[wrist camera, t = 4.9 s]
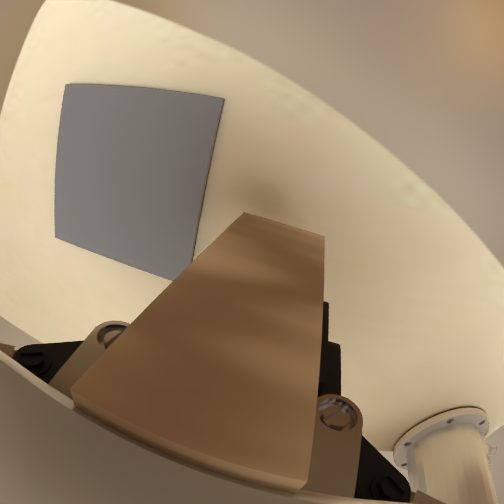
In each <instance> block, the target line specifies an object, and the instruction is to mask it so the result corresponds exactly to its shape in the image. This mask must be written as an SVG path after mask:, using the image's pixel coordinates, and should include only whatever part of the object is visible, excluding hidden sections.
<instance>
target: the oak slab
mask: <svg viewBox="0 0 504 504" xmlns="http://www.w3.org/2000/svg"><path fill="white" fill-rule="evenodd" d="M323 294H324V236H320V235H317V234H314V233H311V232H308V231H304V230H301V229H298V228H295V227H292V226H288V225H285V224H282V223H278V222H275V221H272V220H268V219H265V218H262V217H258V216H255V215H252V214H248V213H245V212H244V213H243V214H242V215H241V216H240V217H239V218H238V219H237V220H235V221H234V222H233V223H232V224H231V225H230V226H229V227H228V228H227V229H226V230H225V231H224V232H223V233H222V234H221V235H220V236H219V237H218V238H217V239H216V240H215V241H214V242H213V243H212V244H210V245H209V246H208V247H207V248H206V249H205V250H204V251H203V252H202V253H201V254H200V255H199V256H198V257H197V258H196V259H195V260H194V261H193V262H192V263H191V264H190V265H189V266H188V267H187V268H186V269H185V270H184V271H183V272H182V273H181V274H180V275H179V276H178V277H177V278H176V279H175V280H174V281H173V282H172V283H171V284H170V285H169V286H168V287H167V288H166V289H165V290H164V291H163V292H162V293H161V294H160V295H159V296H158V297H157V298H156V299H155V300H154V301H153V302H152V303H151V304H150V305H149V306H148V307H147V308H146V309H145V310H144V311H143V312H142V313H141V314H140V315H139V316H138V317H137V318H136V319H135V320H134V321H133V322H132V323H131V324H130V325H129V326H128V327H127V328H126V329H125V331H124V332H123V333H122V334H121V335H120V336H119V337H118V338H117V339H116V340H115V341H114V342H113V343H112V344H111V345H110V346H109V347H108V348H107V349H106V350H105V351H104V352H103V353H102V355H101V356H100V357H99V358H98V359H97V360H96V361H95V362H94V363H93V364H92V365H91V366H90V367H89V368H88V369H87V370H86V372H85V373H84V374H83V375H82V376H81V377H80V378H79V379H78V380H77V381H76V382H75V383H74V385H73V386H72V387H71V388H70V391H71V395H72V398H73V402H74V406H75V407H77V408H79V409H80V410H82V411H84V412H85V413H87V414H89V415H90V416H92V417H94V418H95V419H97V420H99V421H101V422H103V423H104V424H106V425H108V426H110V427H112V428H114V429H115V430H117V431H119V432H121V433H123V434H125V435H127V436H129V437H131V438H133V439H135V440H137V441H139V442H141V443H143V444H146V445H148V446H150V447H152V448H154V449H157V450H159V451H161V452H164V453H166V454H168V455H171V456H173V457H175V458H178V459H180V460H183V461H186V462H188V463H191V464H193V465H196V466H199V467H202V468H205V469H207V470H210V471H213V472H216V473H219V474H222V475H226V476H229V477H232V478H235V479H239V480H242V481H246V482H249V483H253V484H257V485H261V486H265V487H269V488H273V489H278V490H282V491H287V492H292V493H297V492H298V491H299V490H300V489H301V488H302V487H303V486H304V485H305V484H306V483H307V481H308V474H309V467H310V459H311V451H312V443H313V435H314V426H315V416H316V406H317V395H318V383H319V371H320V356H321V340H322V320H323Z"/></svg>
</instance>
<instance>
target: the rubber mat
mask: <svg viewBox="0 0 504 504" xmlns="http://www.w3.org/2000/svg"><path fill="white" fill-rule="evenodd" d="M223 103H224V99H223V98H218V97H212V96H206V95H199V94H193V93H186V92H179V91H171V90H162V89H153V88H143V87H131V86H116V85H94V84H66V85H65V90H64V96H63V102H62V109H61V116H60V124H59V133H58V143H57V155H56V171H55V237H56V238H58V239H61V240H63V241H66V242H68V243H71V244H73V245H76V246H78V247H81V248H83V249H86V250H89V251H91V252H94V253H97V254H99V255H102V256H105V257H107V258H110V259H113V260H115V261H118V262H121V263H123V264H126V265H129V266H132V267H135V268H137V269H140V270H143V271H146V272H149V273H151V274H154V275H157V276H160V277H163V278H166V279H169V280H172V281H174V280H175V279H176V278H177V277H178V276H179V275H180V274H181V273H182V272H183V271H184V270H185V269H186V268H187V267H188V266H189V265H190V264H191V263H192V259H193V253H194V247H195V241H196V235H197V230H198V224H199V218H200V213H201V208H202V202H203V197H204V192H205V187H206V181H207V176H208V172H209V167H210V162H211V157H212V152H213V148H214V143H215V138H216V134H217V129H218V125H219V120H220V116H221V112H222V107H223Z"/></svg>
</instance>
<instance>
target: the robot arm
mask: <svg viewBox="0 0 504 504" xmlns="http://www.w3.org/2000/svg"><path fill="white" fill-rule="evenodd" d="M328 323H329V303H328V302H325V301H323V320H322V340H321V356H320V371H319V383H318V395H317V406H316V416H315V426H314V435H313V443H312V451H311V459H310V467H309V474H308V481H307V483H306V484H305V485H304V486H303V487H302V488H301V489H300V490H299V491H298V492H297V493H292V492H287V491H282V490H278V489H273V488H269V487H265V486H261V485H257V484H253V483H249V482H246V481H242V480H239V479H235V478H232V477H229V476H226V475H222V474H219V473H216V472H213V471H210V470H207V469H205V468H202V467H199V466H196V465H193V464H191V463H188V462H186V461H183V460H180V459H178V458H175V457H173V456H171V455H168V454H166V453H164V452H161V451H159V450H157V449H154V448H152V447H150V446H148V445H146V444H143V443H141V442H139V441H137V440H135V439H133V438H131V437H129V436H127V435H125V434H123V433H121V432H119V431H117V430H115V429H114V428H112V427H110V426H108V425H106V424H104V423H103V422H101V421H99V420H97V419H95V418H94V417H92V416H90V415H89V414H87V413H85V412H84V411H82V410H80V409H79V408H77V407H75V406H74V402H73V398H72V395H71V391H70V388H71V387H72V386H73V385H74V383H75V382H76V381H77V380H78V379H79V378H80V377H81V376H82V375H83V374H84V373H85V372H86V370H87V369H88V368H89V367H90V366H91V365H92V364H93V363H94V362H95V361H96V360H97V359H98V358H99V357H100V356H101V355H102V353H103V352H104V351H105V350H106V349H107V348H108V347H109V346H110V345H111V344H112V343H113V342H114V341H115V340H116V339H117V338H118V337H119V336H120V335H121V334H122V333H123V332H124V331H125V329H126V328H127V327H128V326H129V325H130V324H129V323H126V322H122V321H108V322H104V323H102V324H100V325H98V326H97V327H96V328H95V329H94V330H93V331H92V332H91V333H90V334H89V336H88V337H87V338H86V339H85V340H84V341H74V342H62V343H48V344H32V345H27V346H24V347H22V348H20V349H19V350H16V347H15V346H11V345H6V344H2V343H0V504H498V499H497V495H496V490H495V486H494V482H493V478H492V474H491V470H490V467H489V463H490V462H491V455H492V454H494V453H495V452H496V450H497V446H496V445H487V444H486V441H485V438H484V436H485V434H486V432H487V430H488V427H489V421H488V418H487V416H486V414H485V412H484V411H482V410H481V409H478V408H459V409H455V410H450V411H447V412H444V413H441V414H439V415H436V416H434V417H432V418H430V419H428V420H426V421H424V422H422V423H420V424H419V425H417V426H415V427H414V428H412V429H411V430H410V431H408V432H407V433H406V434H405V435H404V436H403V437H402V438H401V439H400V440H399V441H398V442H397V444H396V445H395V448H394V451H393V456H394V461H395V463H396V465H398V466H399V467H401V468H403V469H407V470H408V476H409V482H408V481H407V480H406V478H405V477H404V476H403V475H402V474H401V473H400V472H399V471H398V470H397V469H396V468H395V467H394V466H393V465H392V464H390V462H389V461H388V460H386V458H385V457H383V456H382V455H381V454H380V453H379V452H378V451H377V450H376V449H375V448H374V447H373V446H372V445H371V444H370V443H369V442H368V441H367V440H366V439H365V438H364V437H363V436H362V426H363V418H362V414H361V412H360V409H359V408H358V407H357V406H356V405H355V403H353V402H352V401H351V400H349V399H348V398H345V397H343V396H341V349H340V345H339V344H336V343H333V342H329V341H328Z"/></svg>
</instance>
